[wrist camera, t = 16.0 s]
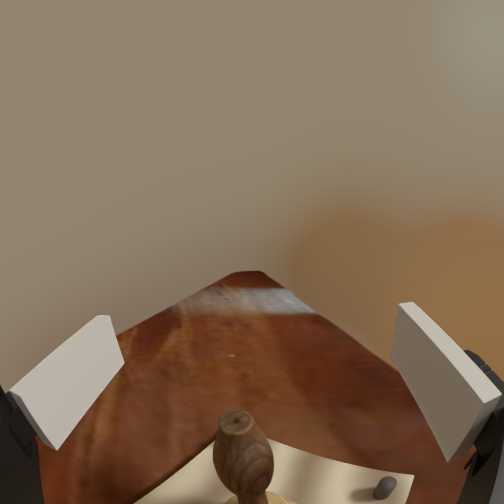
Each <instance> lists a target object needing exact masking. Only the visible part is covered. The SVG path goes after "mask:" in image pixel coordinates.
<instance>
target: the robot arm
mask: <svg viewBox="0 0 504 504" xmlns="http://www.w3.org/2000/svg"><path fill="white" fill-rule="evenodd" d="M390 357H391V359H392V360H393V362H394V364H395V366H396V367H397V369H398V371H399V372H400V374H401V376H402V378H403V379H404V381H405V383H406V384H407V386H408V388H409V390H410V392H411V393H412V395H413V397H414V399H415V400H416V402H417V404H418V406H419V408H420V410H421V411H422V413H423V415H424V417H425V419H426V421H427V423H428V425H429V427H430V428H431V430H432V432H433V434H434V436H435V438H436V440H437V442H438V444H439V446H440V448H441V450H442V452H443V454H444V456H445V459H446V461H447V463H449V462H451V461H453V460H455V459H458V458H460V457H462V456H464V455H466V453H467V452H468V451H469V449H470V448H471V446H472V445H473V443H474V445H475V447H476V449H477V450H476V452H475V453H474V454H473V456H472V457H471V458H470V460H469V461H468V462H467V464H466V465H465V467H464V469H467V467H468V466H469V465H470V464H471V465H470V469H469V472H468V475H467V478H466V481H465V484H464V486H463V489H462V492H461V495H460V497H459V500H458V502H457V504H504V382H503V381H502V380H501V379H500V378H499V377H498V376H497V375H496V374H495V373H494V372H493V371H491V368H490V367H489V366H488V365H485V362H484V361H483V360H482V359H481V358H480V357H479V356H478V355H476V354H475V353H472V352H471V351H469V350H465V351H463V350H462V349H461V348H460V347H459V346H458V345H457V344H456V343H455V342H454V341H453V340H452V339H451V338H450V337H449V336H448V335H447V334H446V333H445V332H444V331H443V330H442V329H441V328H440V327H439V326H438V325H437V324H436V323H435V322H434V321H433V320H432V319H430V318H429V316H427V315H426V314H425V313H424V312H423V311H422V310H421V309H420V308H419V307H418V306H417V305H416V304H415V303H414V302H409V303H401V304H398V310H397V317H396V325H395V332H394V338H393V344H392V349H391V355H390ZM123 364H124V360H123V357H122V354H121V351H120V348H119V345H118V342H117V339H116V336H115V333H114V329H113V326H112V322H111V319H110V316H104V315H97V316H96V317H95V318H94V319H92V320H91V321H90V322H89V323H87V324H86V325H85V326H84V327H82V328H81V329H80V330H79V331H78V332H76V333H75V334H74V335H73V336H71V337H70V338H69V339H68V340H67V341H65V342H64V343H63V344H62V345H61V346H59V347H58V348H57V349H56V350H55V351H53V352H52V353H51V354H50V355H49V356H48V357H46V358H45V359H44V360H43V361H42V362H40V363H39V364H38V365H37V366H36V367H35V368H34V369H33V370H31V371H30V372H29V373H28V374H27V375H26V376H25V377H23V378H22V379H21V380H20V381H19V382H18V383H17V384H16V385H14V386H13V387H12V388H11V389H10V390H9V392H7V393H6V394H5V393H4V391H3V389H2V387H1V385H0V504H44V499H43V493H42V486H41V478H40V469H39V458H38V444H37V441H36V440H35V438H34V437H35V436H36V435H38V436H39V437H40V439H41V440H42V441H43V443H44V444H45V445H47V446H49V447H51V448H53V449H55V450H58V449H59V447H60V446H61V445H62V443H63V442H64V441H65V439H66V438H67V437H68V435H69V434H70V433H71V431H72V430H73V429H74V427H75V426H76V425H77V423H78V422H79V421H80V419H81V418H82V417H83V415H84V414H85V413H86V411H87V410H88V409H89V408H90V406H91V405H92V404H93V402H94V401H95V400H96V399H97V397H98V396H99V395H100V393H101V392H102V391H103V390H104V388H105V387H106V386H107V384H108V383H109V382H110V381H111V379H112V378H113V377H114V376H115V374H116V373H117V372H118V371H119V369H120V368H121V367H122V366H123Z"/></svg>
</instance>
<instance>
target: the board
mask: <svg viewBox="0 0 504 504" xmlns="http://www.w3.org/2000/svg"><path fill="white" fill-rule="evenodd" d="M266 439H267V441H268V442H269V444H270V446H271V449H272V452H273V457H274V472H273V477H272V480H271V483H270V485H269V486H268V488H267V489H266V491H270V492H273V493H275V494H277V495H279V496H281V497H284V498H287V499H290V500H292V501H294V502H296V503H297V504H405V503H406V500H407V497H408V494H409V491H410V488H411V485H412V482H413V478H414V475H407V474H399V473H392V472H386V471H380V470H374V469H369V468H364V467H360V466H355V465H351V464H346V463H342V462H338V461H335V460H331V459H327V458H324V457H320V456H317V455H314V454H310V453H307V452H304V451H301V450H298V449H295V448H292V447H289V446H286V445H284V444H281V443H278V442H276V441H273V440H270V439H268V438H266ZM214 442H215V441H213V442H212V443H211V444H210V445H209V446H208V447H207V448H205V449H204V450H203V451H202V452H201V453H200V454H198V455H197V456H196V457H195V458H194V459H193V460H191V461H190V462H189V463H188V464H186V465H185V466H184V467H183V468H182V469H180V470H179V471H178V472H176V473H175V474H174V475H173V476H171V477H170V478H169V479H167V480H166V481H165V482H163V483H162V484H161V485H159V486H158V487H157V488H155V489H154V490H153V491H151V492H150V493H148V494H147V495H146V496H144V497H143V498H141V499H140V500H138V501H137V502H135V503H134V504H225V503H226V502H227V501H228V500H229V499H230V498H231V497H233V496H235V494H234V493H232V492H231V491H229V490H228V489H227V488H226V487H225V486H224V484H223V483H222V482H221V480H220V479H219V477H218V475H217V473H216V470H215V467H214V463H213V446H214Z"/></svg>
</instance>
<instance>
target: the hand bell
mask: <svg viewBox="0 0 504 504" xmlns="http://www.w3.org/2000/svg"><path fill="white" fill-rule="evenodd" d="M213 463H214V467H215V470H216V473H217V475H218V477H219V479H220V480H221V482H222V483H223V484H224V486H225V487H226V488H227V489H228V490H229V491H231V492H232V493H234V494H235V496H233V497H231V498H230V499H229V500H228V501H227V502H226V503H225V504H297V503H296V502H294V501H292V500H290V499H287V498H284V497H281V496H279V495H277V494H275V493H273V492H270V491H266V489H267V488H268V486H269V485H270V483H271V480H272V477H273V472H274V457H273V452H272V449H271V446H270V444H269V442H268V441H267V439H266V437H265V436H264V435H263V433H262V432H261V431H260V430H259V428H258V427H257V426H256V424H255V422H254V420H253V418H252V416H251V415H250V414H249V413H247V412H245V411H241V410H231V411H229V412H227V413H225V414H224V415H222V416H221V417H220V418H219V421H218V432H217V435H216V439H215V442H214V446H213Z"/></svg>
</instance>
